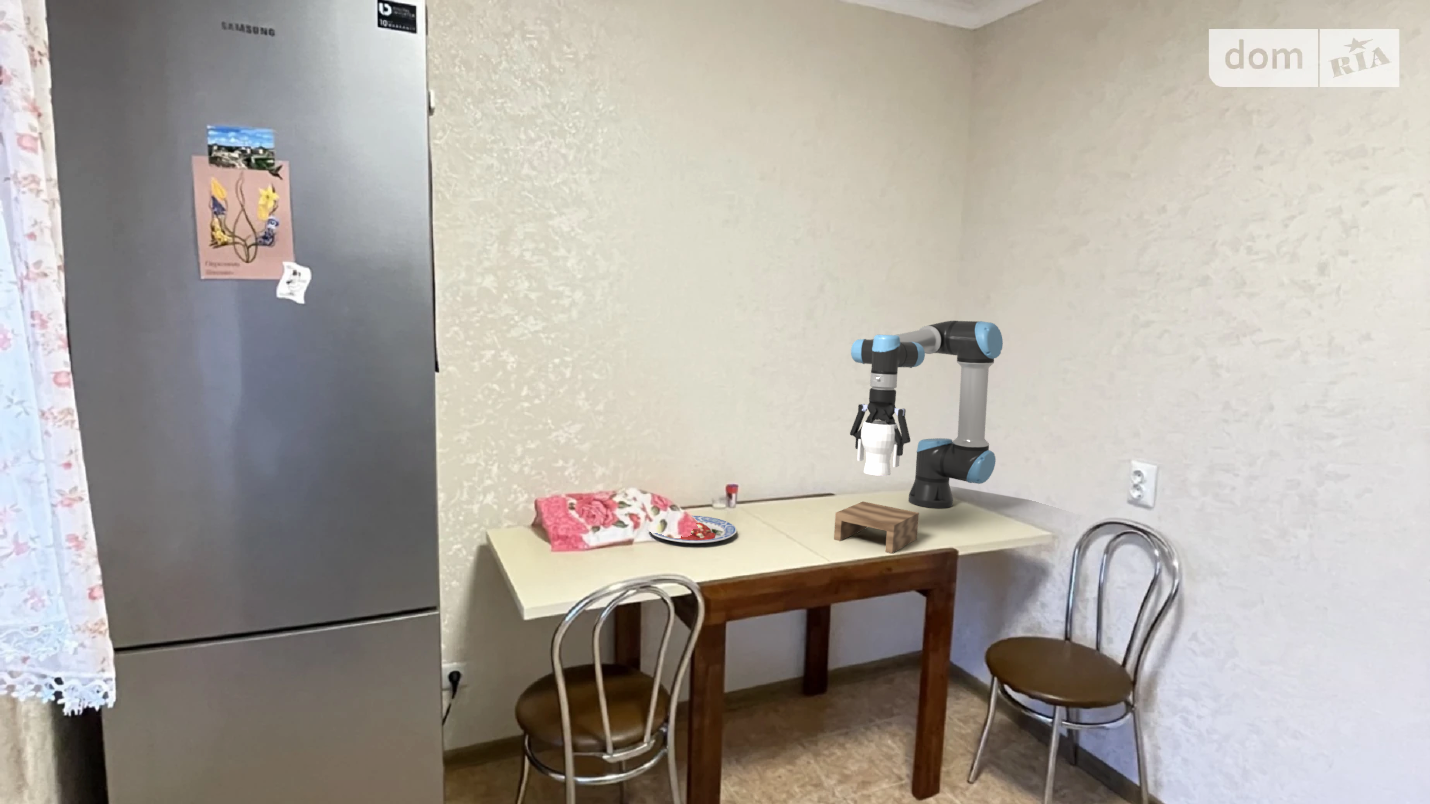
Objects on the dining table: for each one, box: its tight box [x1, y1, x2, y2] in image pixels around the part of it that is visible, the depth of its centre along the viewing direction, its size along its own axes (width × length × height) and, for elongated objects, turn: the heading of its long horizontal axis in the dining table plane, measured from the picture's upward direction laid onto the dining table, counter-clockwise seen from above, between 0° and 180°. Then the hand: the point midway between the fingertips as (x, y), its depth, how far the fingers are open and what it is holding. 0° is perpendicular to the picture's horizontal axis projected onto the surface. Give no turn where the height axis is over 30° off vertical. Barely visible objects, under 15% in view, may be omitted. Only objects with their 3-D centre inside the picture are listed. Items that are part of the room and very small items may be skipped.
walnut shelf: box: [833, 501, 920, 554], centre depth 213 cm, size 18×18×8 cm
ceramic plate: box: [651, 515, 737, 544], centre depth 211 cm, size 26×26×3 cm
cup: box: [861, 420, 899, 477], centre depth 212 cm, size 11×11×15 cm
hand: (877, 463), depth 212 cm, fingers closed on cup, 11 cm apart
